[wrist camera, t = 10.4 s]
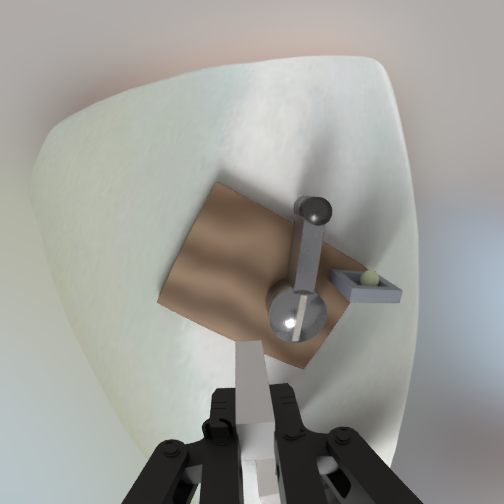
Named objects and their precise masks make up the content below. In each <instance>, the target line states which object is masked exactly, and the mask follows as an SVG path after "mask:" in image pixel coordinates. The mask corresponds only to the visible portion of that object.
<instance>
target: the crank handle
mask: <svg viewBox="0 0 504 504" xmlns="http://www.w3.org/2000/svg"><path fill="white" fill-rule="evenodd" d="M294 212H295V220H294V227H293V235H292V242H291V249H290V256H289V263H288V270H287V277H286V278H284V279H282V280H280V281H278V282H277V283H275V284H274V285H273V286H272V287H271V288H270V290H269V292H268V294H267V296H266V310H267V314H268V318H269V322H270V326H271V329H272V331H273V332H274V334H275V335H276V336H277V337H278V338H280V339H281V340H283V341H286V342H290V343H301V342H305V341H308V340H310V339H312V338H313V337H315V336H316V335H317V334H318V333H319V332H320V331H321V330H322V328H323V327H324V325H325V323H326V320H327V307H326V304H325V302H324V301H323V299H322V298H321V297H320V295H319V294H318V293H317V291H316V290H315V283H316V278H317V272H318V266H319V260H320V254H321V248H322V241H323V234H324V228H325V224H326V223H327V222H328V221H329V220H330V218H331V216H332V207H331V205H330V203H329V202H328V201H327V200H326V199H324V198H321V197H310V196H302V197H300V198H298V199H297V200H296V202H295V204H294Z"/></svg>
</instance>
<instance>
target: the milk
mask: <svg viewBox="0 0 504 504" xmlns="http://www.w3.org/2000/svg"><path fill="white" fill-rule="evenodd" d="M256 469H257V481H258V492H259V499H260V501H261V502H262V504H281V502H280V495H279V488H278V481H277V475H275V470H276V461H275V458H270V459H257V460H256Z"/></svg>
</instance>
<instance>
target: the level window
mask: <svg viewBox="0 0 504 504" xmlns="http://www.w3.org/2000/svg"><path fill="white" fill-rule="evenodd" d="M329 281H330V282H331V283H332V284H333V285H334V286H335V288H336V289H337V290H338V291H339V292H340V293H341V294H342V295H343V296H344V297H345V298H346V299H347V300H348V301H349V302H371V303H400V299H401V295H402V290H401V289H399V288H398V287H396V286H395V285H393V284H392V283H390V282H389V281H387V280H386V279H384V278H383V277H381V276H379V275H378V274H377V273H376V272H375V271H373V270H367V271H365V272H362V271H350V270H337V269H330V274H329Z"/></svg>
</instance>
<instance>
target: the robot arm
mask: <svg viewBox="0 0 504 504" xmlns="http://www.w3.org/2000/svg"><path fill="white" fill-rule="evenodd" d="M202 431H203V434H204V438H203V439H202V440H200V441H197V442H194V443H190V444H184V443H183V442H181V441H179V440H173V439H170V440H165V441H163V442H161V443H160V444H159V445H158V446H157V447H156V449H155V450H154V452H153V454H152V455H151V457H150V459H149V460H148V462H147V463H146V465H145V467H144V468H143V470H142V472H141V473H140V475H139V476H138V478H137V480H136V481H135V483H134V484H133V486H132V488H131V489H130V491H129V492H128V494H127V496H126V497H125V499H124V500H123V502H122V503H121V504H190V503H191V500H192V498H193V496H194V494H195V491H196V489H197V487H198V484H199V483H201V489H200V502H199V504H244V496H243V474H242V465H241V460H257V459H270V458H275V461H276V470H275V475H277V481H278V488H279V495H280V502H281V504H423V503H422V502H421V501H420V500H419V498H417V496H416V495H415V494H414V493H413V492H412V491H411V490H410V489H409V488H408V487H407V486H406V485H405V484H404V483H403V482H402V481H401V480H400V479H399V478H398V476H397V475H395V473H394V472H393V471H392V470H391V469H390V468H389V467H388V466H387V465H386V464H385V462H384V461H383V460H382V459H381V458H380V457H379V456H378V455H377V454H376V453H375V451H374V450H373V449H372V448H371V447H370V446H369V445H368V444H367V443H366V441H365V440H364V439H363V438H362V437H361V436H360V435H359V434H358V432H357V431H355V430H354V429H352V428H349V427H338V428H335V429H333V430H332V431H330V433H329V434H324V433H315V432H312V431H310V430H308V429H307V428H306V427H305V426H304V425H303V423H302V419H301V415H300V412H299V408H298V405H297V401H296V397H295V394H294V390H293V388H292V387H291V386H290V385H289V384H288V383H283V384H273V385H269V383H268V377H267V371H266V365H265V359H264V352H263V346H262V340H258V341H243V342H236V388H217V389H216V390H215V392H214V393H213V394H212V400H211V410H210V418H209V419H207V420H206V421H205V422H204V423H203V425H202Z"/></svg>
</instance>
